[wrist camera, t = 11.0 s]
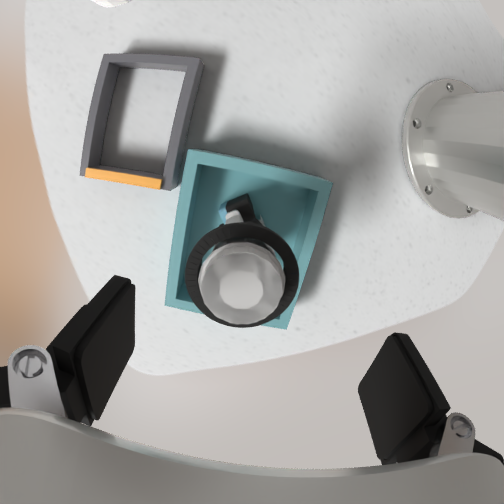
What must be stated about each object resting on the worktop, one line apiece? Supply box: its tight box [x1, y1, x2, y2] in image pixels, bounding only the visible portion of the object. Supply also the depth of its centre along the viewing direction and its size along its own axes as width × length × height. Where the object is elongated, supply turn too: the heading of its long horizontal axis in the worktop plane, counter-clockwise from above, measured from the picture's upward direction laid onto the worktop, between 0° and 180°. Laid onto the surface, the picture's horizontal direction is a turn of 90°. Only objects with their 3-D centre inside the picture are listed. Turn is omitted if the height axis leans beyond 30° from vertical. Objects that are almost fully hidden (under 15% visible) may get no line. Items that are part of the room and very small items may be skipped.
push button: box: [185, 193, 299, 328], centre depth 17 cm, size 7×5×10 cm
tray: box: [165, 149, 333, 329], centre depth 21 cm, size 10×12×3 cm
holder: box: [80, 54, 204, 191], centre depth 18 cm, size 8×10×2 cm
